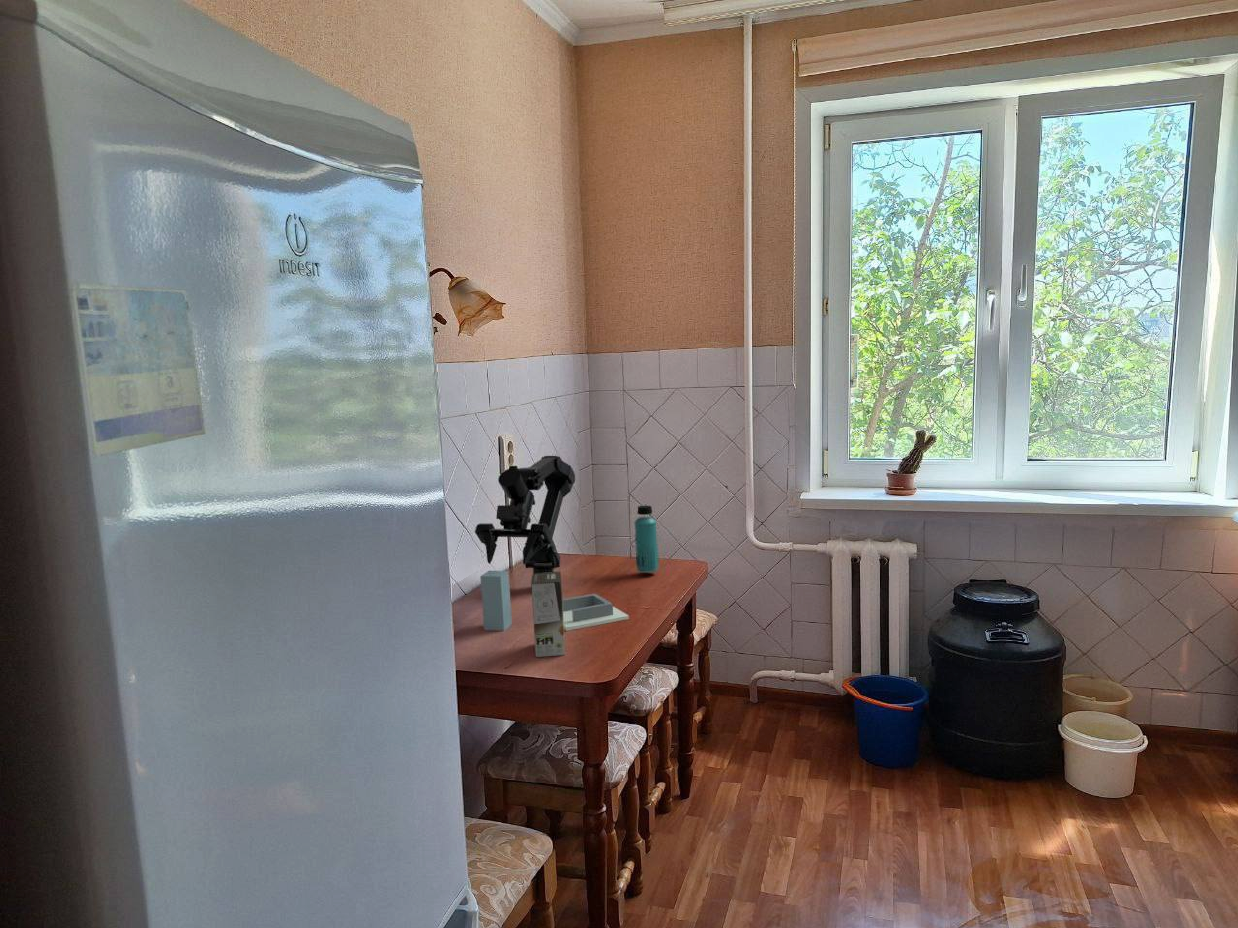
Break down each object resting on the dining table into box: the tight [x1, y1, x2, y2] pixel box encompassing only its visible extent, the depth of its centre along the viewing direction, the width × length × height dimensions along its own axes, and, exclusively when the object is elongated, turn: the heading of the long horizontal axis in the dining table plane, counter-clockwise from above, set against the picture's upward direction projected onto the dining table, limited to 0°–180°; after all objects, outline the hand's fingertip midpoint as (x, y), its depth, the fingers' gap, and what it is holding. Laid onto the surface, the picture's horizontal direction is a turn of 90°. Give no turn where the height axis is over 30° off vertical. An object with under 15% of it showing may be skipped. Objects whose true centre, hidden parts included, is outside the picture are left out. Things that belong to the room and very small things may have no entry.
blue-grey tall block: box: [480, 570, 513, 632], centre depth 195 cm, size 5×5×13 cm
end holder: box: [562, 593, 630, 632], centre depth 201 cm, size 16×16×4 cm
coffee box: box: [530, 571, 565, 658], centre depth 178 cm, size 9×6×16 cm
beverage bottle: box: [634, 505, 660, 573], centre depth 235 cm, size 6×7×20 cm
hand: (506, 563), depth 202 cm, fingers open, 9 cm apart
